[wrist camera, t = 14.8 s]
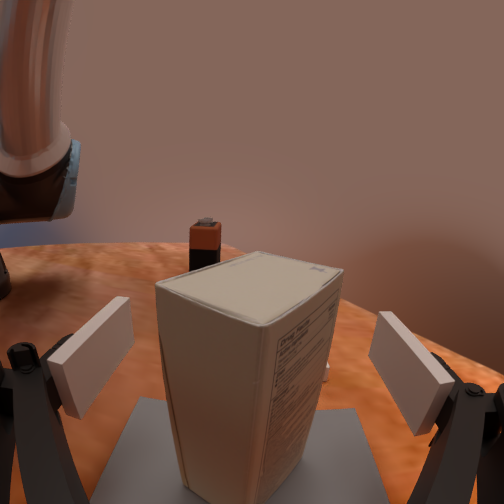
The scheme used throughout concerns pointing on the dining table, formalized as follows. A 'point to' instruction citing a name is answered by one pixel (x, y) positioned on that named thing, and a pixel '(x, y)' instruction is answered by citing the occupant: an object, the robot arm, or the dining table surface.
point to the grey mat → (282, 500)
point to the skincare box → (244, 369)
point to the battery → (204, 244)
